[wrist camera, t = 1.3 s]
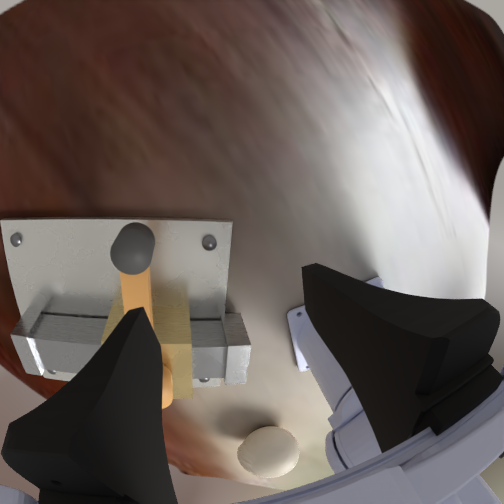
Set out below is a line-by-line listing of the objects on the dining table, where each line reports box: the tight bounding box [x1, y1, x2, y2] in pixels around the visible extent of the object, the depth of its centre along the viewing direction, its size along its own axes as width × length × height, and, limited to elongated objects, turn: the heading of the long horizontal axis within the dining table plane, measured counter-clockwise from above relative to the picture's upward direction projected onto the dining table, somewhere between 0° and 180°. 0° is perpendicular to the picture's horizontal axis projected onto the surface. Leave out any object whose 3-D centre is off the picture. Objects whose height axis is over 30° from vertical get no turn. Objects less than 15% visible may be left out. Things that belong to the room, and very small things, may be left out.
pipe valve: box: [10, 305, 251, 399], centre depth 20 cm, size 18×6×5 cm, turn 83°
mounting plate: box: [0, 217, 233, 387], centre depth 21 cm, size 18×16×1 cm
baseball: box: [237, 426, 299, 478], centre depth 29 cm, size 7×7×7 cm
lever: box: [110, 222, 173, 409], centre depth 15 cm, size 12×3×2 cm, turn 173°
